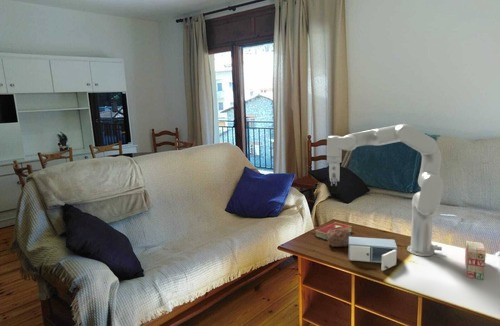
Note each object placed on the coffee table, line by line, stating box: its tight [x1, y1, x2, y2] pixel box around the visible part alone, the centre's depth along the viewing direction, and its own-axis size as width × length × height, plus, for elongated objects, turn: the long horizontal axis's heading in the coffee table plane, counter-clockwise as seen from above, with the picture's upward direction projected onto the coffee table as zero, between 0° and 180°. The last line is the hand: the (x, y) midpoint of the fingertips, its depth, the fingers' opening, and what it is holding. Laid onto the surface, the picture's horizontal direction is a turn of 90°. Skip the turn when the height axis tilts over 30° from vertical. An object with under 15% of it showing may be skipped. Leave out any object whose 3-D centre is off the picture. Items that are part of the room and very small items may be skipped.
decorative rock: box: [327, 228, 353, 248], centre depth 190 cm, size 13×11×10 cm
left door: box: [380, 247, 398, 272], centre depth 161 cm, size 11×2×8 cm, turn 125°
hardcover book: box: [314, 221, 353, 241], centre depth 207 cm, size 12×21×4 cm, turn 133°
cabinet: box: [348, 236, 398, 264], centre depth 172 cm, size 22×12×8 cm, turn 75°
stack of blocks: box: [464, 240, 487, 281], centre depth 159 cm, size 21×6×12 cm, turn 151°
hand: (333, 190), depth 186 cm, fingers open, 9 cm apart
